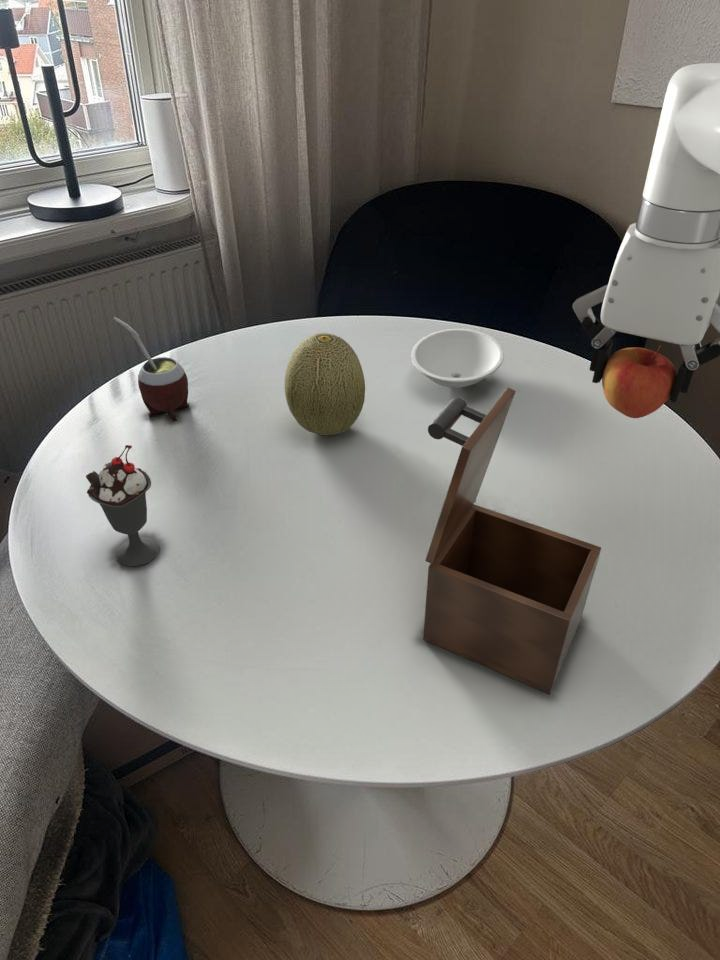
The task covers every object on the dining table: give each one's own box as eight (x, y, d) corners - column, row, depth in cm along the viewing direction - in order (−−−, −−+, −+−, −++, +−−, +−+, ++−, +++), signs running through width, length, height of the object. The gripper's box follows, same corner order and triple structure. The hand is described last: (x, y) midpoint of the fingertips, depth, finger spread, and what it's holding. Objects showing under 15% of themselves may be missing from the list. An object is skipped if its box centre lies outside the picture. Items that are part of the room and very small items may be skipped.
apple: (584, 398, 80) (597, 333, 75) (644, 391, 81) (661, 327, 76) (613, 433, 74) (631, 366, 69) (678, 426, 75) (699, 359, 70)
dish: (488, 416, 106) (492, 387, 103) (397, 400, 110) (398, 372, 107) (509, 362, 119) (512, 335, 116) (426, 349, 123) (428, 322, 120)
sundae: (178, 545, 85) (155, 443, 75) (137, 579, 80) (107, 476, 71) (139, 525, 88) (112, 425, 78) (97, 558, 83) (63, 455, 74)
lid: (516, 390, 64) (468, 369, 65) (470, 450, 56) (418, 426, 58) (475, 501, 73) (434, 481, 75) (432, 565, 66) (388, 541, 68)
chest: (580, 620, 75) (601, 547, 69) (549, 694, 68) (570, 621, 61) (462, 575, 81) (471, 503, 74) (422, 639, 73) (428, 566, 67)
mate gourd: (198, 416, 107) (182, 325, 97) (146, 430, 104) (124, 338, 95) (184, 393, 112) (167, 305, 103) (134, 406, 109) (112, 316, 100)
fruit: (311, 460, 98) (305, 364, 89) (275, 422, 105) (266, 330, 96) (379, 435, 103) (381, 342, 93) (340, 400, 110) (338, 311, 101)
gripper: (788, 223, 64) (728, 391, 75) (597, 196, 71) (567, 353, 82) (780, 248, 59) (716, 425, 70) (575, 217, 66) (546, 382, 77)
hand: (636, 385), depth 76 cm, fingers closed on apple, 7 cm apart
